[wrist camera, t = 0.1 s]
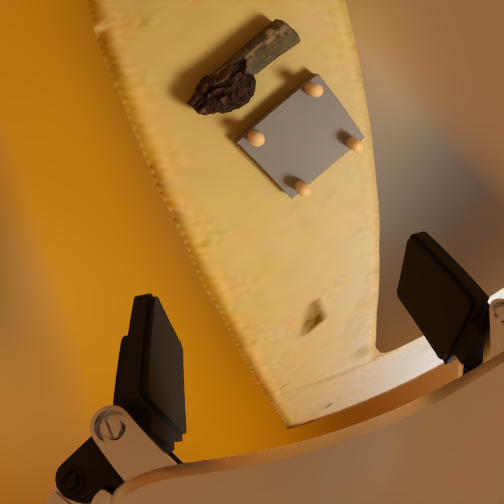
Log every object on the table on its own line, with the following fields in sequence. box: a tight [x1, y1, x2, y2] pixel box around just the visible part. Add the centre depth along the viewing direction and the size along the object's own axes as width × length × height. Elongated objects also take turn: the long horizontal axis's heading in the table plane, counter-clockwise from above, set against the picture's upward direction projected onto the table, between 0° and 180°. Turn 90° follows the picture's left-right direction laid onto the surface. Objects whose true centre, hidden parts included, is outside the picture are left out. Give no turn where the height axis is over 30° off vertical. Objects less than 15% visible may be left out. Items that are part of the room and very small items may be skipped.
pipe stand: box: [236, 74, 364, 199], centre depth 42 cm, size 13×16×4 cm
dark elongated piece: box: [187, 19, 300, 115], centre depth 35 cm, size 18×7×6 cm, turn 132°
